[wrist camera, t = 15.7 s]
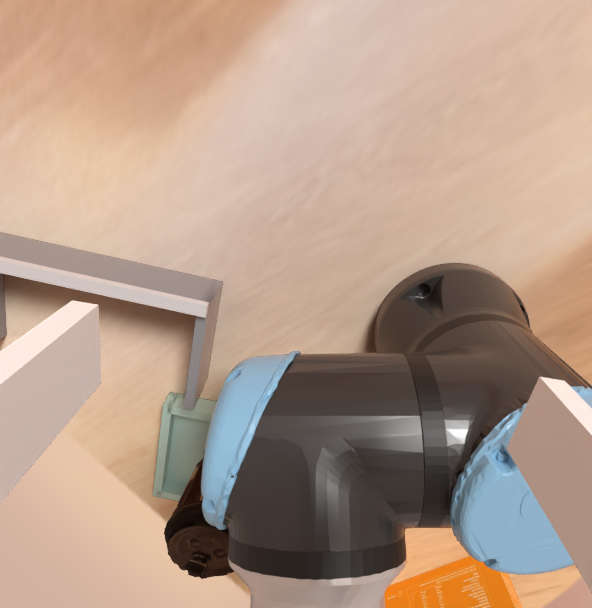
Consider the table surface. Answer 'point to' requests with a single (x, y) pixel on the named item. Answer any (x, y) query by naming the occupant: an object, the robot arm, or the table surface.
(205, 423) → the tray
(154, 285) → the bay
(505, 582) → the cereal box
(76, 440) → the table surface
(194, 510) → the coffee cup
